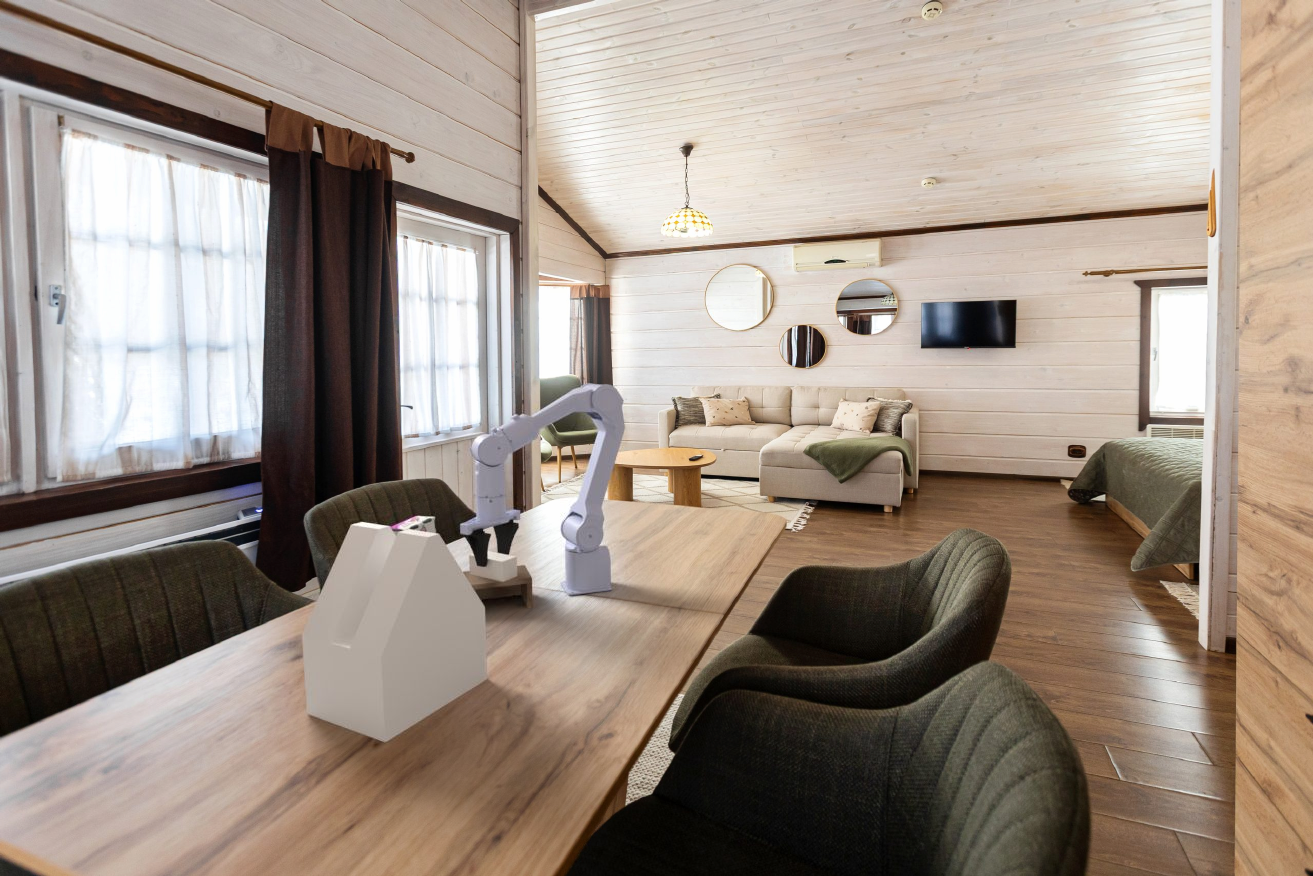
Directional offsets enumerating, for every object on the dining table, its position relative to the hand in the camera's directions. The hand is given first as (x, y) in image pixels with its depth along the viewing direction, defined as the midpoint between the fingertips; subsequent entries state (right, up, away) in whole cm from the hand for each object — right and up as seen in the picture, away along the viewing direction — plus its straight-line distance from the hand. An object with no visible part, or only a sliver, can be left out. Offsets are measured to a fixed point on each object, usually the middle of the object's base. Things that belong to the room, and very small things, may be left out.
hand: (492, 562), depth 133 cm
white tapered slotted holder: (-5, -13, -36) cm, 38 cm away
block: (0, -3, 0) cm, 3 cm away
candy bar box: (-17, -9, +3) cm, 19 cm away
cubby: (0, -9, +1) cm, 9 cm away
